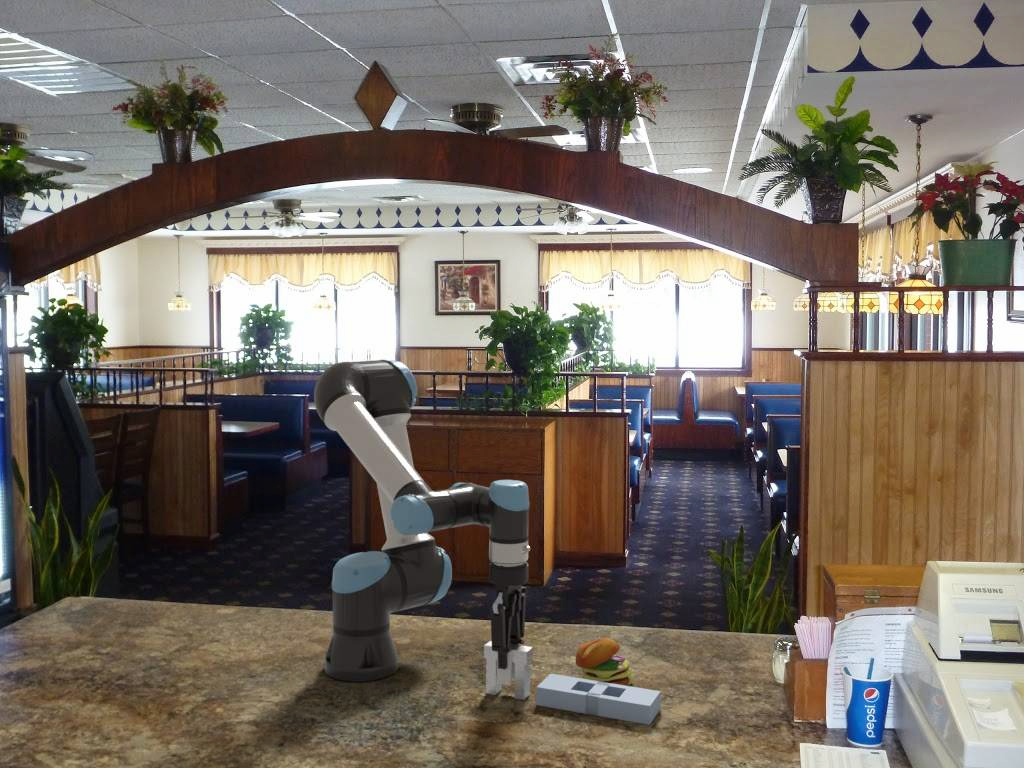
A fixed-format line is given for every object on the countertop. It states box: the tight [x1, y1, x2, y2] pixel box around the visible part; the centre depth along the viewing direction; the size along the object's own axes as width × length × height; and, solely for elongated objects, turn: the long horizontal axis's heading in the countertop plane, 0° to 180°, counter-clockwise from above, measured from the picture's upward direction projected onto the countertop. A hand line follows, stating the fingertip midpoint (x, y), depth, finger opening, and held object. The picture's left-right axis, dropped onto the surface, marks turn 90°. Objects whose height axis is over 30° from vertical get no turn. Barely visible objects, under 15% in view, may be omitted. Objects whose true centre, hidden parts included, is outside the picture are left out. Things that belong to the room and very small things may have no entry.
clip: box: [483, 640, 534, 701], centre depth 195 cm, size 9×3×10 cm, turn 67°
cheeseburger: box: [575, 637, 634, 686], centre depth 202 cm, size 10×11×10 cm
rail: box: [535, 673, 662, 726], centre depth 190 cm, size 22×8×4 cm, turn 67°
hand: (508, 680), depth 196 cm, fingers closed on clip, 3 cm apart
